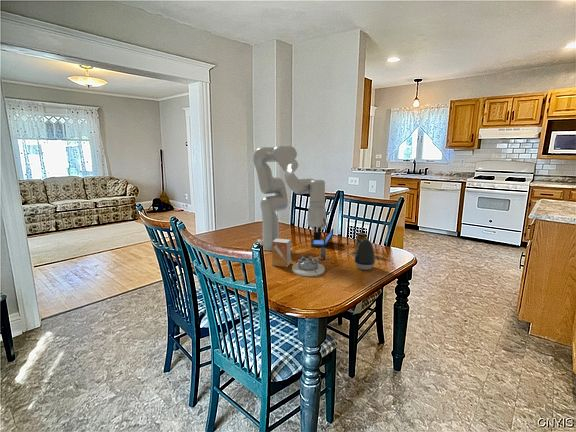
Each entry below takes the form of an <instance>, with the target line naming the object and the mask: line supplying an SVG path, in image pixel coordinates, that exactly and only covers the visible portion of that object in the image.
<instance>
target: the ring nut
mask: <svg viewBox="0 0 576 432" xmlns="http://www.w3.org/2000/svg"><path fill="white" fill-rule="evenodd" d="M326 249H327V247H326V248H320V255H318V256H311V255H310V256H309V257H305V256H300V259H297V261H298V262H297V263H298V268H299V269H301V270H306V271H313V270H316V269H318V267H319V264H320V260H321V261H326V257H327V256H326V253H327V250H326Z"/></svg>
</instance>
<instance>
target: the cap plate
mask: <svg viewBox="0 0 576 432" xmlns="http://www.w3.org/2000/svg"><path fill="white" fill-rule="evenodd" d="M291 271H292V272H293V274H295V275H298V276H301V277H317V276H321V275H323V274H324V273H325V266H324V265H323V264H321V263H319V267H318V269H316V270H313V271H306V270H301V269H299V268H298V262H297V263H294V264H293V265H292V267H291Z"/></svg>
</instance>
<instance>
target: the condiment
mask: <svg viewBox="0 0 576 432" xmlns="http://www.w3.org/2000/svg"><path fill="white" fill-rule="evenodd" d="M367 236H368V235H367V233H364V232H359V233H356V239H355V251H354V252H350V255H353V256H355V253H356V250H357V247H358V245H359V242H358V241H357V239H359V240H361V241H362V240H363V239H368V238H367Z"/></svg>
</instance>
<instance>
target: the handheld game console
mask: <svg viewBox="0 0 576 432" xmlns="http://www.w3.org/2000/svg"><path fill="white" fill-rule="evenodd" d="M333 235H334V228H332V229H331V230H330V231H329V233H328V234H327V236H325V238H320V239H319V240H314V238H312V239H311V244H310V247H311V248H316V249H318V248H319V249H321V248H326V249H327V245H328V243H329V242H330V241H331V239H332V238H333V237H334V236H333Z"/></svg>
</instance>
